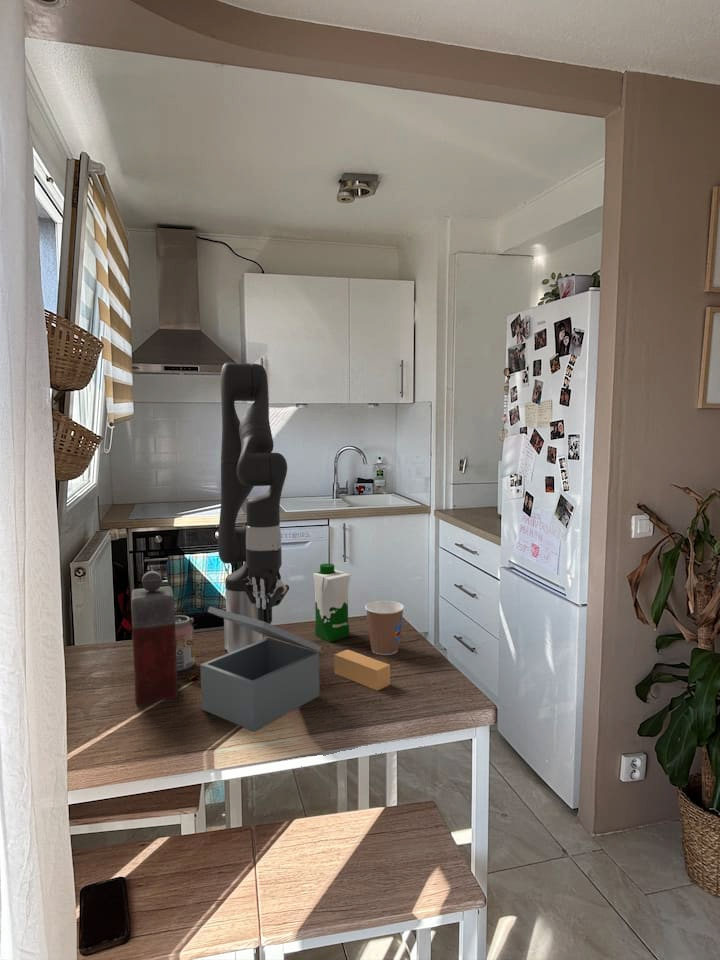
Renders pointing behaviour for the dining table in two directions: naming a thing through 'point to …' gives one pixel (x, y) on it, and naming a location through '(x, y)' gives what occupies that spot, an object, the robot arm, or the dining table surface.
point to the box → (259, 682)
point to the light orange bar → (362, 669)
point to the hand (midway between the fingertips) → (265, 624)
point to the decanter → (154, 640)
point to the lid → (264, 628)
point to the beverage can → (184, 642)
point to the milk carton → (331, 603)
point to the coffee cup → (384, 626)
